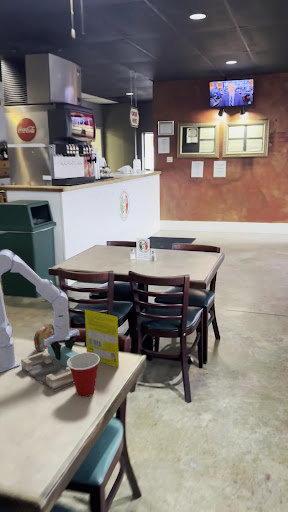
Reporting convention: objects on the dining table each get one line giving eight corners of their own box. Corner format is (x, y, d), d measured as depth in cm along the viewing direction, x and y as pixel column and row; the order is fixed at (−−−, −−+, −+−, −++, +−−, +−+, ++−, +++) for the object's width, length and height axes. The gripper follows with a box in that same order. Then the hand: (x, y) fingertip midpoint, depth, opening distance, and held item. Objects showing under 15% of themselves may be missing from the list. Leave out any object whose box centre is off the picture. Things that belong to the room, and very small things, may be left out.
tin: (40, 354, 175) (39, 334, 173) (33, 353, 176) (32, 334, 174) (55, 339, 190) (54, 321, 188) (48, 339, 190) (47, 320, 188)
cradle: (21, 369, 163) (21, 359, 162) (45, 360, 169) (44, 351, 169) (53, 391, 147) (53, 380, 146) (78, 380, 154) (77, 370, 153)
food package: (119, 366, 164) (118, 316, 159) (117, 368, 163) (116, 317, 158) (87, 357, 172) (85, 309, 167) (86, 358, 171) (83, 310, 167)
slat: (48, 356, 174) (47, 344, 172) (56, 353, 176) (55, 341, 175) (70, 369, 162) (70, 357, 161) (79, 366, 165) (79, 353, 164)
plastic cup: (61, 393, 146) (59, 359, 143) (86, 381, 154) (85, 349, 151) (82, 405, 139) (81, 370, 136) (107, 391, 146) (106, 358, 144)
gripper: (50, 332, 158) (52, 366, 161) (83, 321, 168) (84, 354, 171) (40, 327, 163) (42, 360, 166) (72, 317, 173) (74, 349, 176)
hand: (63, 357), depth 169 cm, fingers closed on slat, 4 cm apart
